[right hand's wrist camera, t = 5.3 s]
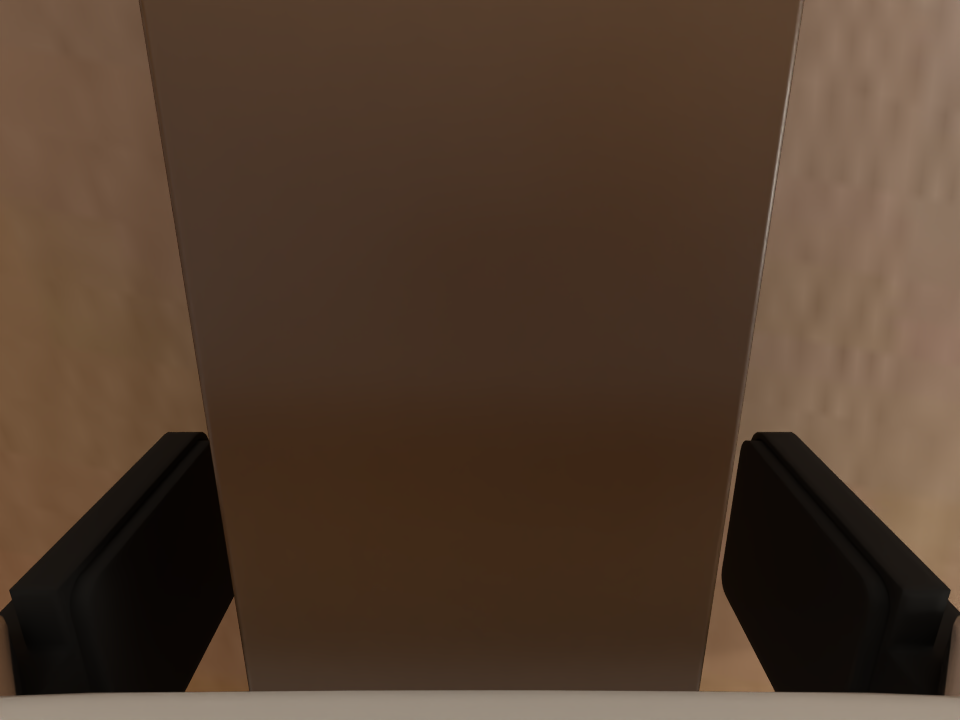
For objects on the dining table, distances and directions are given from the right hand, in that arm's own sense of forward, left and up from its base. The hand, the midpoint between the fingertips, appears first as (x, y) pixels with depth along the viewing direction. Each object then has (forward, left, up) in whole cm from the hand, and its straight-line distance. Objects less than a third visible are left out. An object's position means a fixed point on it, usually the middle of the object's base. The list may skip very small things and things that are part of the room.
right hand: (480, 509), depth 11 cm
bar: (+29, -13, -3) cm, 32 cm away
